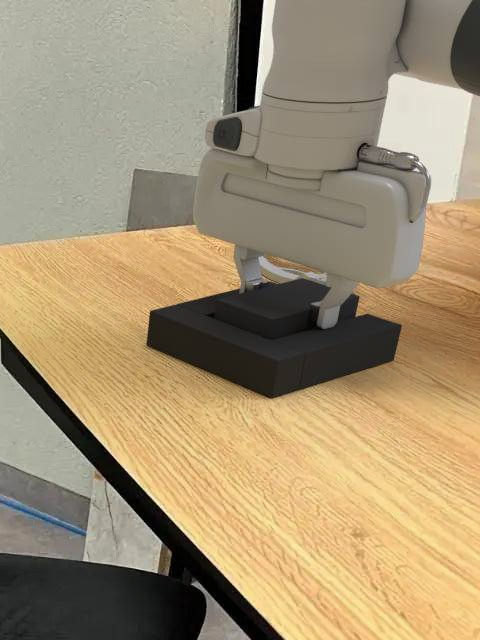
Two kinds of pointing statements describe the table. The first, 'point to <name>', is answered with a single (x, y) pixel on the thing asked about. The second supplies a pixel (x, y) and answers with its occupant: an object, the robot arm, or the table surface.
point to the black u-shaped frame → (270, 347)
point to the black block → (278, 308)
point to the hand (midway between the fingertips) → (285, 313)
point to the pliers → (288, 273)
